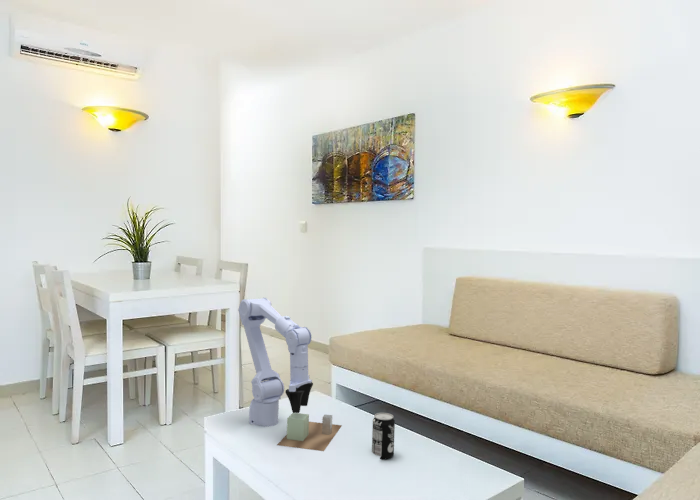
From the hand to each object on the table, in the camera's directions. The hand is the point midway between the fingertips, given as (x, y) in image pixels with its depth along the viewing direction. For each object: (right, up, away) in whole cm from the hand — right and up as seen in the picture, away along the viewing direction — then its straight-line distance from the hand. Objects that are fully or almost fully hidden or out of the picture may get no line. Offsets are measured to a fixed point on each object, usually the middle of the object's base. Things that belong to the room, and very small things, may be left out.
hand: (300, 409), depth 164 cm
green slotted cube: (-1, -9, 0) cm, 9 cm away
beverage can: (+26, -11, -9) cm, 30 cm away
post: (+8, -9, +4) cm, 13 cm away
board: (+3, -10, +2) cm, 11 cm away
